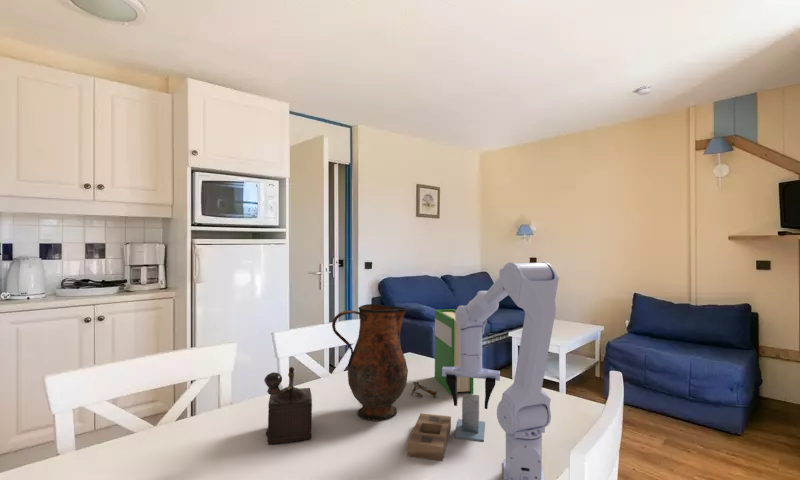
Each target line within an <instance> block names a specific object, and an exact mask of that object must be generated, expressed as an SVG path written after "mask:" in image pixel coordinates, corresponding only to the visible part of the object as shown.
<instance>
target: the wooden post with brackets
mask: <svg viewBox="0 0 800 480" xmlns="http://www.w3.org/2000/svg"><path fill="white" fill-rule="evenodd" d="M412 384H413V386H414V388H413V389H412V390H411V393H410V395H411V396H413V395H414V394H415V395H416V397H419V398H420V397H421V398H422V397H423V395H422V393H421V392H419V391H417V390H422V391H423V392H425V393H428V394H429V395H431V396H433V398H434V399H436V397H437V395H438V390H435V391H434V390H431V389H429V388H428V387H425V386H424V385H421V384H420V383H419V381H413V382H412ZM416 391H417V392H416Z"/></svg>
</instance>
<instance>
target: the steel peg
mask: <svg viewBox="0 0 800 480" xmlns="http://www.w3.org/2000/svg"><path fill="white" fill-rule="evenodd" d="M461 401H462V402H461V403H462V404H461V407H462V409H461V412H462V414H461V419H462V431H464V432H472V433H478V431H479V421H480V395H478V394H470V393H463V395H462V399H461Z"/></svg>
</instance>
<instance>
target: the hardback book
mask: <svg viewBox="0 0 800 480" xmlns="http://www.w3.org/2000/svg"><path fill="white" fill-rule="evenodd" d="M455 312H456V309H452V308H450V309H434V378H435V379H436V380H437V381H438V382H439V384H440V385H441V386H442V387H443V388H444V389H445V390H446V391H447V392H448V393H449V394H450V396H452V394H451V391H450V389H449V386H448V385H447V382H446V376H442V368H443V367H460V328H459V327H458V326H457V324H456V320H455ZM461 392H468V394H471V395H474V378H469V377H457V393H461Z"/></svg>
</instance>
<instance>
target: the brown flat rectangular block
mask: <svg viewBox="0 0 800 480" xmlns="http://www.w3.org/2000/svg"><path fill="white" fill-rule="evenodd" d="M451 428H452V415H451V416H449V415H442V414H441V415H439V414H431V413H422V412H421V413H420V414H419V416H418V418H417V420H416V423H415V425H414V427H413V429H412V432H411V433H410V435H409V438H408V440H407V442H406V456H407V457H410V458H411V457H413V458H420V459H426V460H427V459H428V460H435V461H442V462H443V461H444V458H445V457H444V456H445V453H446V449H447V446H448V441H449V437H450V433H451V431H452V430H451Z"/></svg>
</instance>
